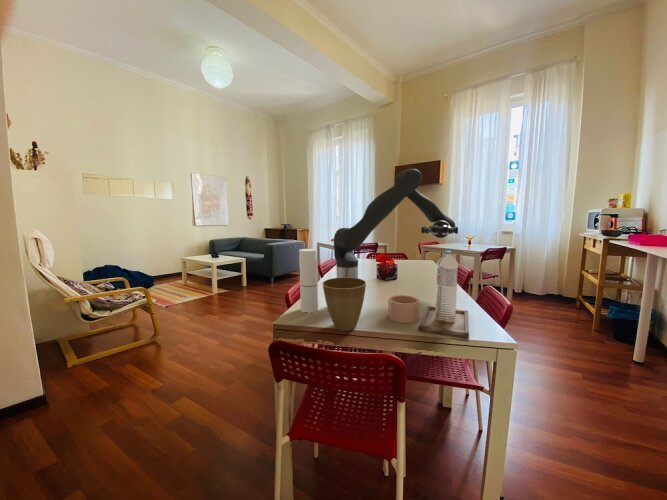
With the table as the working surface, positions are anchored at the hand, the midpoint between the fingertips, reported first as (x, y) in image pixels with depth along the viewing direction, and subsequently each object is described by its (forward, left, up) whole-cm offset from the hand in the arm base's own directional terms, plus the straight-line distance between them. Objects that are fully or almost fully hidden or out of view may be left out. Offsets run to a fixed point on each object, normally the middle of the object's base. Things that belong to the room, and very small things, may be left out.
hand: (438, 230), depth 108 cm
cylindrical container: (-47, -22, -32) cm, 61 cm away
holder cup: (-10, -15, -32) cm, 37 cm away
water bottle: (+5, -14, -31) cm, 35 cm away
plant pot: (-27, -32, -32) cm, 53 cm away
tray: (+5, -14, -32) cm, 35 cm away
